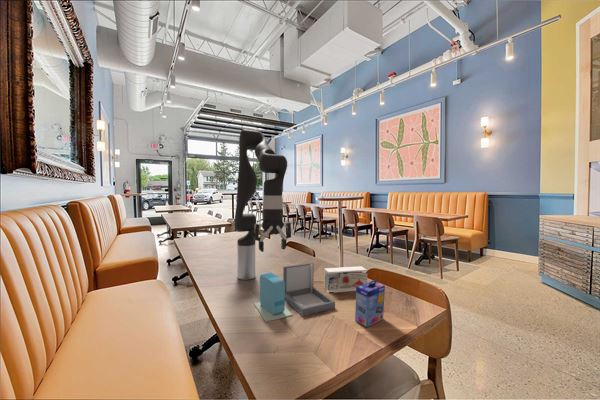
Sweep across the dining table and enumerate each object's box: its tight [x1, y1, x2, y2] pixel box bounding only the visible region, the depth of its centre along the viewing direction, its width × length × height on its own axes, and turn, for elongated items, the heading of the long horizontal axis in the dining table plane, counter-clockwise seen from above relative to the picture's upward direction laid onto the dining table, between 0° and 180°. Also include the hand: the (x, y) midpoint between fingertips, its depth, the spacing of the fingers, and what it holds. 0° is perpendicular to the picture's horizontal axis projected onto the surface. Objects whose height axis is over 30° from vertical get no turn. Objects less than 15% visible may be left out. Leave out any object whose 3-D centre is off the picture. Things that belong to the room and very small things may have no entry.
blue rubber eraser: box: [259, 272, 286, 315], centre depth 92 cm, size 12×4×12 cm, turn 34°
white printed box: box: [323, 265, 368, 294], centre depth 113 cm, size 20×6×9 cm, turn 102°
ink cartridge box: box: [354, 278, 386, 328], centre depth 85 cm, size 10×6×14 cm, turn 128°
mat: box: [253, 301, 293, 323], centre depth 92 cm, size 15×10×1 cm, turn 26°
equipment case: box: [282, 262, 336, 317], centre depth 98 cm, size 18×14×13 cm
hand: (272, 250), depth 93 cm, fingers open, 8 cm apart
